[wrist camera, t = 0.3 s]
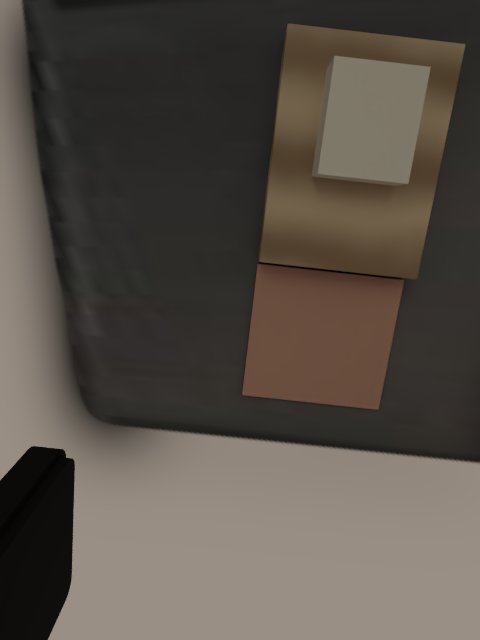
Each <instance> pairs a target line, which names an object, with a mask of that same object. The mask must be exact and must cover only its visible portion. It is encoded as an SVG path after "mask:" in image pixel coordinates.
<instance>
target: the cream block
mask: <svg viewBox="0 0 480 640" xmlns="http://www.w3.org/2000/svg"><path fill="white" fill-rule="evenodd" d="M430 68H431V67H428V66H419V65H411V64H402V63H393V62H385V61H376V60H368V59H359V58H351V57H342V56H334V58H333V59H332V61H331V63H330V65H329V66H328V68H327V70H326V77H325V84H324V91H323V98H322V105H321V113H320V120H319V127H318V134H317V141H316V148H315V155H314V162H313V169H312V176H311V177H320V178H329V179H337V180H346V181H355V182H364V183H373V184H381V185H390V186H397V185H405V184H408V183H409V178H410V173H411V168H412V162H413V157H414V152H415V147H416V141H417V136H418V131H419V126H420V121H421V115H422V110H423V105H424V100H425V95H426V89H427V84H428V79H429V74H430Z"/></svg>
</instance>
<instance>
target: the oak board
mask: <svg viewBox="0 0 480 640" xmlns="http://www.w3.org/2000/svg"><path fill="white" fill-rule="evenodd" d="M464 49H465V44H459V43H451V42H442V41H434V40H425V39H417V38H408V37H399V36H391V35H382V34H374V33H365V32H357V31H348V30H340V29H331V28H323V27H314V26H306V25H297V24H289V23H288V25H287V29H286V34H285V38H284V46H283V54H282V63H281V71H280V79H279V88H278V96H277V105H276V113H275V122H274V130H273V138H272V147H271V155H270V164H269V172H268V180H267V189H266V197H265V206H264V214H263V223H262V231H261V239H260V248H259V256H258V258H259V262H265V263H274V264H283V265H292V266H301V267H310V268H319V269H328V270H337V271H346V272H355V273H364V274H373V275H382V276H391V277H400V278H409V279H417V277H418V272H419V267H420V262H421V257H422V253H423V248H424V243H425V238H426V233H427V228H428V224H429V219H430V214H431V209H432V204H433V199H434V194H435V190H436V185H437V180H438V175H439V170H440V165H441V160H442V156H443V151H444V146H445V141H446V136H447V131H448V127H449V122H450V117H451V112H452V107H453V102H454V97H455V93H456V88H457V83H458V78H459V73H460V68H461V64H462V59H463V54H464ZM334 56H342V57H351V58H359V59H368V60H376V61H385V62H393V63H402V64H411V65H419V66H428V67H431V68H430V74H429V79H428V84H427V89H426V95H425V100H424V105H423V110H422V115H421V121H420V126H419V131H418V136H417V141H416V147H415V152H414V157H413V162H412V168H411V173H410V178H409V183H408V184H405V185H397V186H390V185H381V184H373V183H364V182H355V181H346V180H337V179H329V178H320V177H311V176H312V169H313V162H314V155H315V148H316V141H317V134H318V127H319V120H320V113H321V105H322V98H323V91H324V84H325V77H326V70H327V68H328V66H329V65H330V63H331V61H332V59H333V58H334Z"/></svg>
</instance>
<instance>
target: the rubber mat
mask: <svg viewBox="0 0 480 640" xmlns="http://www.w3.org/2000/svg"><path fill="white" fill-rule="evenodd" d="M403 284H404V280H401V279H392V278H383V277H374V276H365V275H356V274H347V273H338V272H329V271H320V270H311V269H302V268H293V267H284V266H275V265H266V264H258V265H257V273H256V281H255V290H254V298H253V307H252V315H251V324H250V332H249V340H248V349H247V357H246V366H245V374H244V382H243V391H242V395H246V396H255V397H264V398H274V399H283V400H292V401H301V402H311V403H320V404H329V405H338V406H348V407H357V408H366V409H375V410H378V409H379V404H380V399H381V394H382V389H383V384H384V379H385V374H386V369H387V364H388V359H389V354H390V349H391V344H392V339H393V334H394V329H395V324H396V319H397V314H398V309H399V304H400V299H401V294H402V289H403Z"/></svg>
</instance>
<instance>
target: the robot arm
mask: <svg viewBox="0 0 480 640" xmlns="http://www.w3.org/2000/svg"><path fill="white" fill-rule="evenodd" d="M74 470H75V465H74V460H73V459H70V458H66V454H65V451H64V450H63V449H54V448H45V447H36V446H33V447H31V448H29V449H28V450H27V451H26V453H25V454H24V455H23V456H22V457H21V458H20V459H19V460H18V461H17V463H16V464H15V465H14V466H13V467H12V468H11V469H10V470H9V471H8V473H7V474H6V475H5V476H4V477H3V478H2V479H1V480H0V640H48V638H49V636H50V633H51V631H52V629H53V627H54V625H55V622H56V620H57V618H58V616H59V613H60V612H61V609H62V607H63V605H64V603H65V600H66V598H67V595H68V592H69V589H70V584H71V575H72V543H73V506H74Z"/></svg>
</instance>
